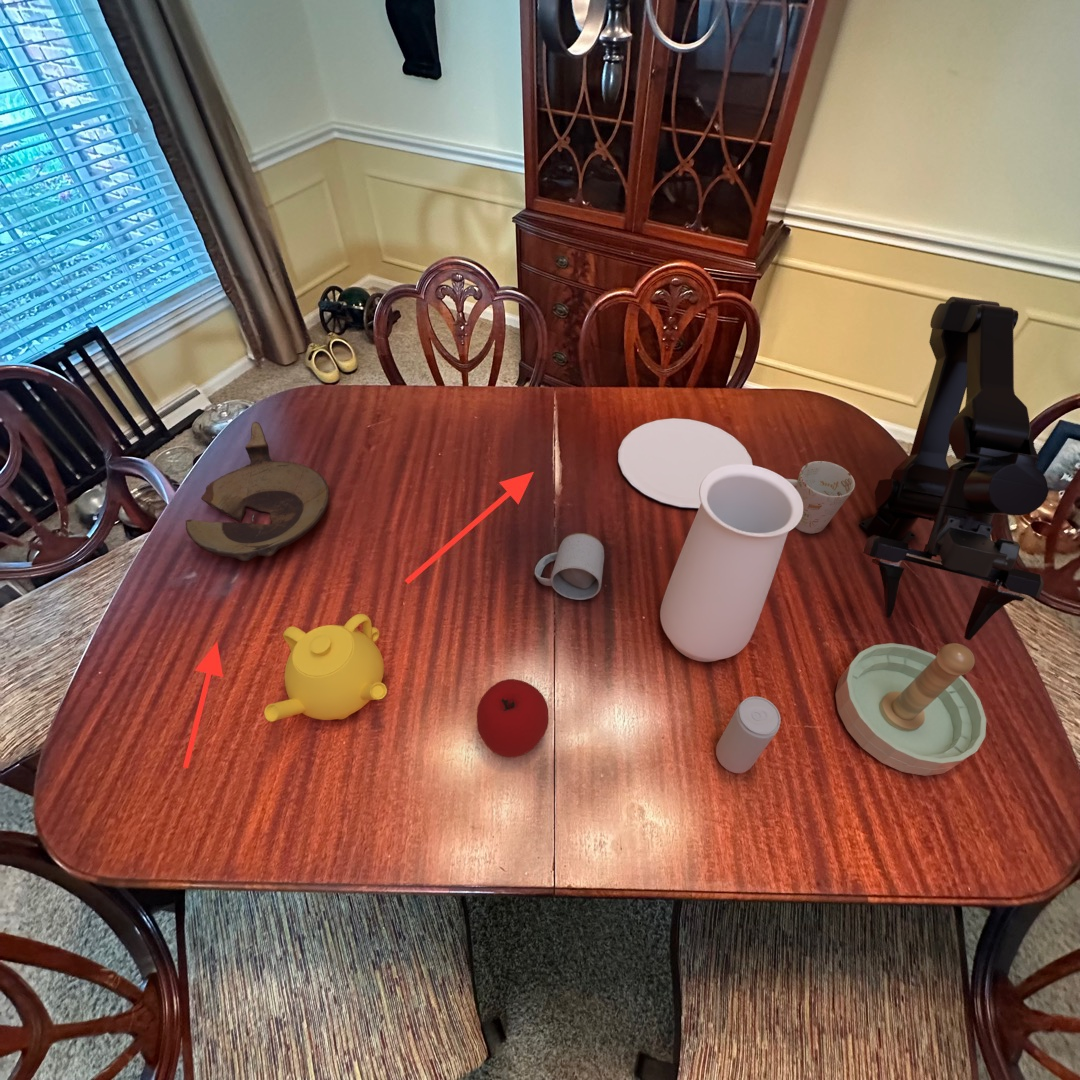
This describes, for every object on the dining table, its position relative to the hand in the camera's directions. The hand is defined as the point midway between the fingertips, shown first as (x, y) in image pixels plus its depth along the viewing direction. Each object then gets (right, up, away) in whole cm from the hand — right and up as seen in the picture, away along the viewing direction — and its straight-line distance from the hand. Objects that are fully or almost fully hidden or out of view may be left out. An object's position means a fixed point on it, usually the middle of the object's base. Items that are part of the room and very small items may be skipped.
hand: (926, 628), depth 78 cm
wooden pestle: (-3, -11, +1) cm, 12 cm away
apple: (-54, -14, +1) cm, 55 cm away
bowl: (-3, -12, +2) cm, 12 cm away
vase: (-26, -2, +11) cm, 29 cm away
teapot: (-77, -10, +4) cm, 78 cm away
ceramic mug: (-46, +5, +17) cm, 49 cm away
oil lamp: (-97, +16, +27) cm, 102 cm away
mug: (-6, +15, +26) cm, 30 cm away
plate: (-23, +26, +35) cm, 49 cm away
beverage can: (-25, -16, -1) cm, 30 cm away
